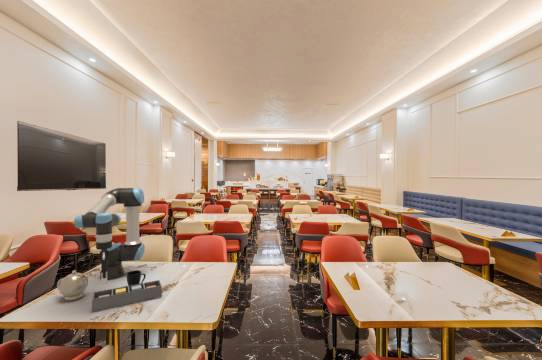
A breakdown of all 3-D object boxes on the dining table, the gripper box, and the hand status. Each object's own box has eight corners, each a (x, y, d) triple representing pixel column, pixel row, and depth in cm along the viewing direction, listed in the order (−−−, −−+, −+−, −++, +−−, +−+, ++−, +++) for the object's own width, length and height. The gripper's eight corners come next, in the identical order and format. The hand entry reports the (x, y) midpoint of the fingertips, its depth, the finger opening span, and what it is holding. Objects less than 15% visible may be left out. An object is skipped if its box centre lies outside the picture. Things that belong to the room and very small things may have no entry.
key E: (146, 293, 153) (146, 286, 153) (155, 291, 155) (155, 285, 155) (147, 296, 148) (147, 289, 148) (156, 294, 151) (156, 288, 151)
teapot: (94, 293, 156) (94, 266, 156) (76, 303, 142) (76, 274, 142) (67, 292, 157) (67, 266, 157) (46, 302, 143) (46, 274, 143)
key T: (115, 296, 144) (115, 289, 144) (125, 294, 147) (125, 287, 147) (115, 299, 140) (115, 292, 140) (125, 297, 143) (125, 290, 143)
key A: (98, 302, 140) (98, 296, 140) (109, 300, 143) (109, 294, 143) (98, 306, 136) (98, 299, 136) (109, 304, 139) (109, 297, 139)
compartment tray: (93, 304, 141) (93, 292, 141) (159, 290, 159) (159, 280, 159) (92, 312, 133) (92, 299, 133) (161, 297, 150) (161, 285, 150)
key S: (131, 292, 149) (131, 286, 149) (140, 290, 151) (140, 284, 151) (131, 296, 144) (131, 289, 144) (141, 294, 147) (141, 287, 147)
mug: (140, 290, 160) (141, 275, 160) (123, 289, 161) (123, 274, 161) (148, 285, 168) (148, 270, 168) (132, 284, 169) (132, 270, 169)
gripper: (96, 239, 143) (97, 280, 144) (94, 244, 132) (95, 289, 132) (112, 237, 147) (112, 277, 147) (111, 242, 136) (112, 286, 136)
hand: (104, 283), depth 140 cm, fingers closed
